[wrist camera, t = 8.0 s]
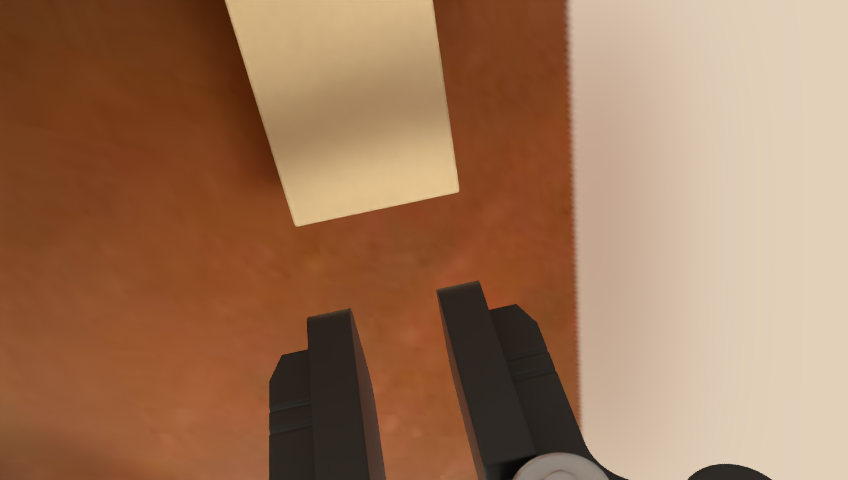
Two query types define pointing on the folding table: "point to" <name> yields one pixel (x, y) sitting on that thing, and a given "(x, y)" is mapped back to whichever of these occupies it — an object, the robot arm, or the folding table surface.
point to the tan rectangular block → (349, 101)
